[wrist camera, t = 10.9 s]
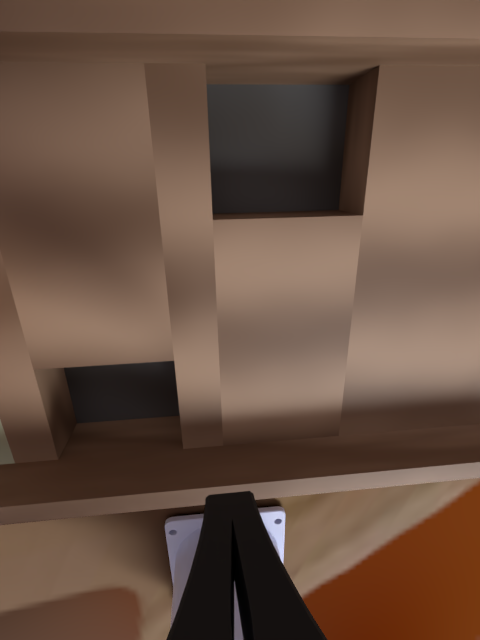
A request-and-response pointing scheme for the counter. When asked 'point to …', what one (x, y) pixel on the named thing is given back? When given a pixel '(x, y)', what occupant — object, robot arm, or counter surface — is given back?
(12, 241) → the open tray box
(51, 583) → the counter surface
